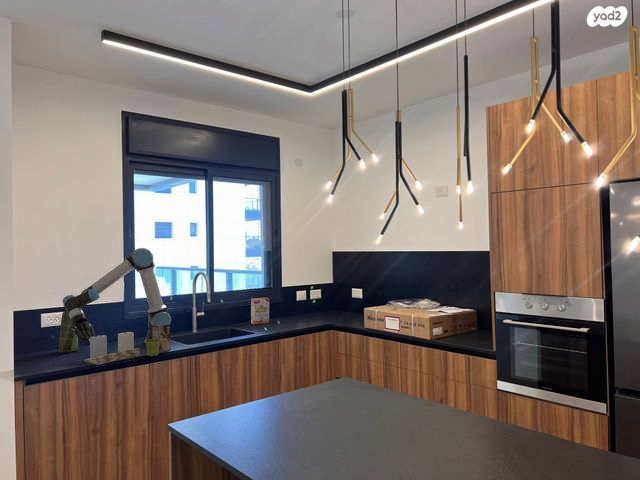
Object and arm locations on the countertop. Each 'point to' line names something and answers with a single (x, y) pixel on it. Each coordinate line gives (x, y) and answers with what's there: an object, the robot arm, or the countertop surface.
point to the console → (114, 356)
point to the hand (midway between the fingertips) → (93, 348)
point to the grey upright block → (98, 346)
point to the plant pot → (152, 346)
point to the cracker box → (259, 310)
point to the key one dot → (125, 341)
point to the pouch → (67, 335)
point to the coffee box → (162, 336)
